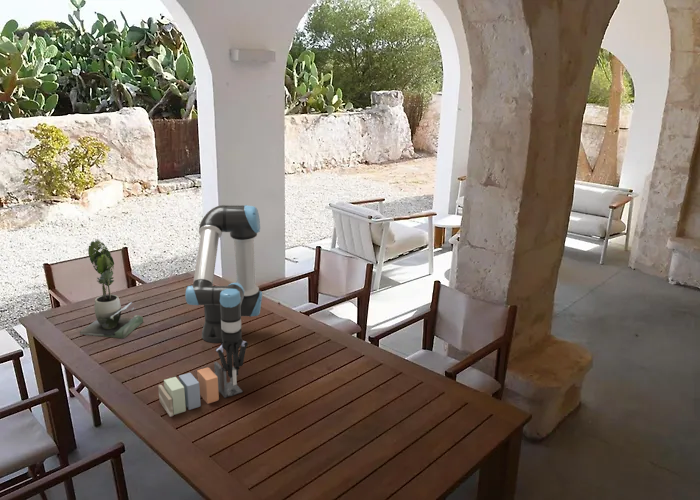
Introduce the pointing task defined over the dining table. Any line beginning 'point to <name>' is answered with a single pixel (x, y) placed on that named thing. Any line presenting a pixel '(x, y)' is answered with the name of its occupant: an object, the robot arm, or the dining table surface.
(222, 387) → the bookend
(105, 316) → the potted plant
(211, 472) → the dining table surface
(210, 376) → the book rust
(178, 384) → the book sage
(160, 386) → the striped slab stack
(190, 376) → the book slate
